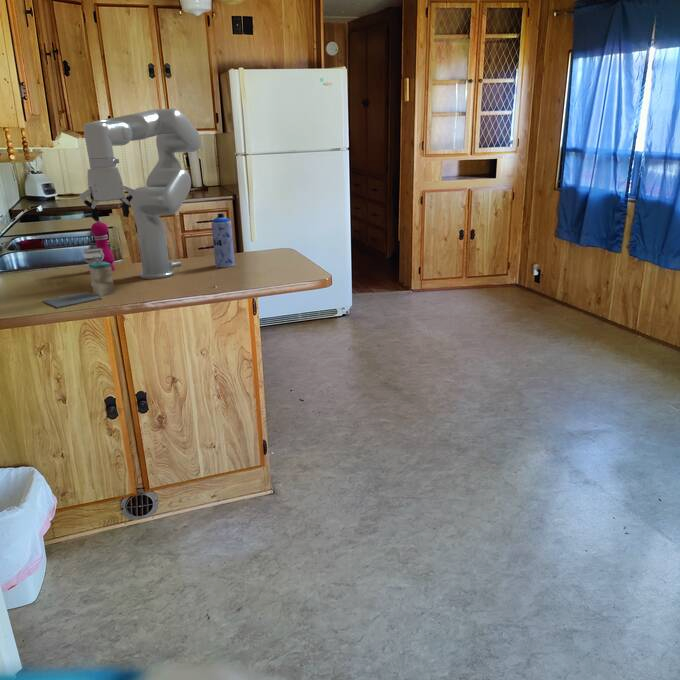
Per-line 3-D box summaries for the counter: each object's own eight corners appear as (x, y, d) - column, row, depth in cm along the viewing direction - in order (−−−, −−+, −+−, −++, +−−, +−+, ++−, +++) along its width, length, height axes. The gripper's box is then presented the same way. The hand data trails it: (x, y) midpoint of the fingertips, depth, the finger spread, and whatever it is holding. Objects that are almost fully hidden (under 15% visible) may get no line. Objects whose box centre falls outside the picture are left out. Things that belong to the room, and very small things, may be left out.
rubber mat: (86, 292, 201) (86, 291, 201) (101, 298, 193) (101, 297, 193) (42, 301, 192) (42, 300, 192) (57, 308, 184) (56, 307, 184)
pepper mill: (118, 270, 234) (110, 218, 227) (98, 273, 230) (90, 220, 224) (113, 267, 240) (105, 216, 233) (94, 270, 236) (85, 218, 229)
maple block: (108, 291, 203) (103, 261, 199) (115, 293, 199) (110, 263, 196) (93, 294, 199) (88, 264, 196) (100, 296, 196) (95, 266, 193)
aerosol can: (210, 266, 235) (205, 214, 229) (225, 262, 241) (220, 211, 235) (225, 268, 231) (220, 215, 224) (239, 264, 237) (235, 212, 230)
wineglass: (107, 284, 211) (102, 250, 207) (87, 286, 209) (81, 252, 206) (109, 280, 217) (103, 247, 213) (88, 282, 216) (83, 249, 212)
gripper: (124, 161, 199) (133, 214, 205) (70, 165, 189) (80, 221, 195) (133, 162, 193) (141, 216, 199) (77, 166, 183) (88, 223, 189)
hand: (111, 218), depth 197 cm, fingers open, 9 cm apart
